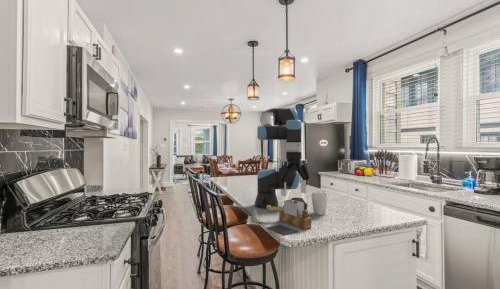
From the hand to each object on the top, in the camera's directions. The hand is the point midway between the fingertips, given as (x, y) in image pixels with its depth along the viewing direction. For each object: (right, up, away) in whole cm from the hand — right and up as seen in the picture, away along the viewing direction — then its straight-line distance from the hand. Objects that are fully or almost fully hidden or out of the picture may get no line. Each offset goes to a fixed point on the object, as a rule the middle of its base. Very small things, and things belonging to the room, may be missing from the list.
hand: (293, 194), depth 130 cm
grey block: (0, -10, 0) cm, 10 cm away
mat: (-7, -15, -9) cm, 19 cm away
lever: (-9, -9, +7) cm, 15 cm away
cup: (+18, -15, +20) cm, 31 cm away
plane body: (0, -15, 0) cm, 15 cm away
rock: (+4, -15, +15) cm, 22 cm away
